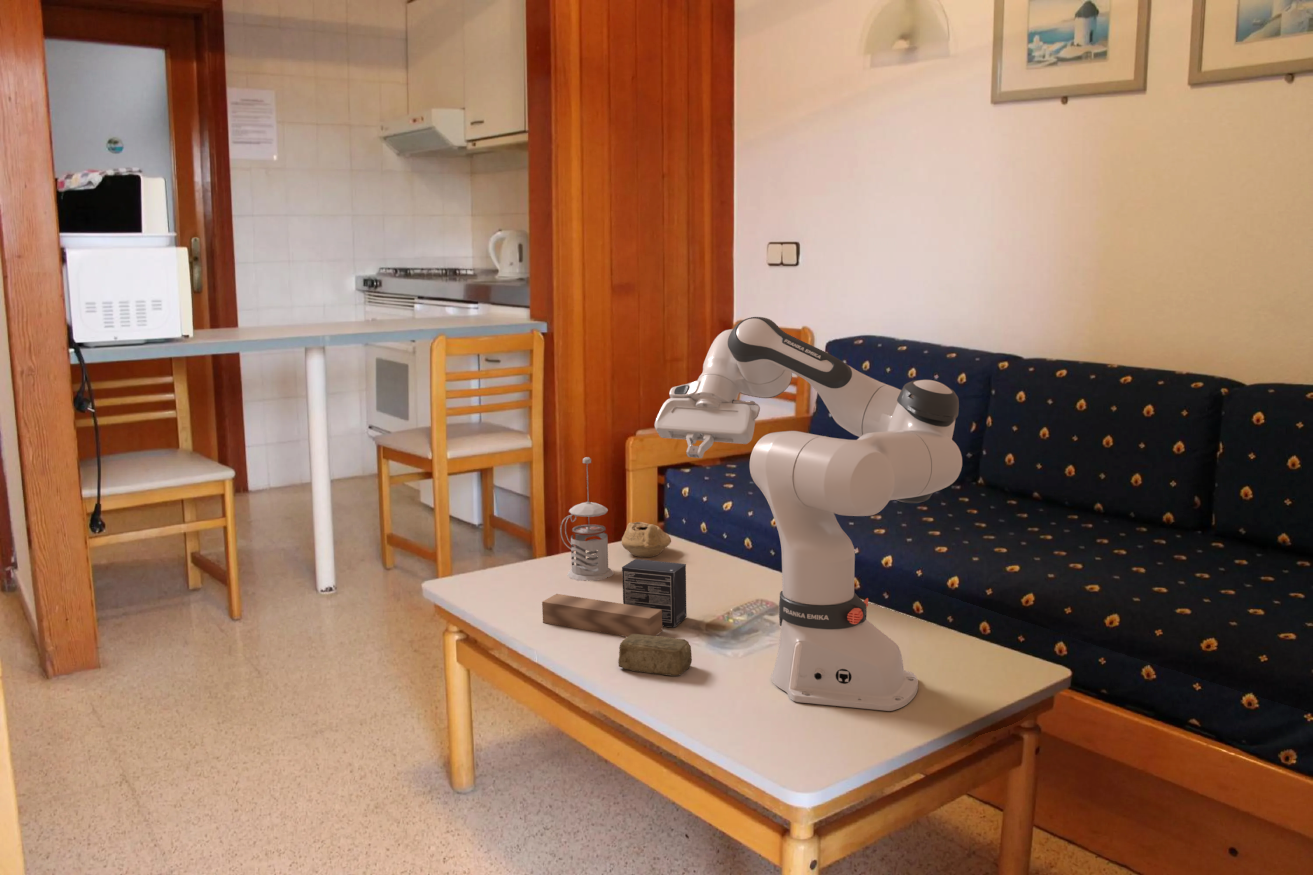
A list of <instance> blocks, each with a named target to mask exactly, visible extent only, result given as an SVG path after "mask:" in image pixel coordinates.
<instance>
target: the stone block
mask: <svg viewBox="0 0 1313 875" xmlns="http://www.w3.org/2000/svg"><path fill="white" fill-rule="evenodd" d="M618 648H619V651H618V661H617V662H618V667H619V668H622V669H624V670H626V671H632V672H638V673H639V672H641V673H647V674H654V675H655V674H656V675H664V676H681V675H683V673H685V672H686V671H687V670H688V669H689V668H690V667H691V665H692V662H693V659H692V655H693V654H692V645H691V644H690V643H689V641H688V640H686V639H685V638H675V637H670V636H669V637H668V636H659V635H656V636H651V635H640V634H631V635H629V636H628V637H625V638H624V639H623V640H622V641H621V642H620V643H619V647H618Z"/></svg>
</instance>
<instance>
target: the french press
mask: <svg viewBox="0 0 1313 875" xmlns="http://www.w3.org/2000/svg"><path fill="white" fill-rule="evenodd" d="M582 464H586V485H587V487H586V489H587V501H585V502H581V503H578V504H575V505H573V506H572V507H570V509H569V510H568V513H569V514H570V515H569V514H568V515H567V516H565V517H564V518H563V519H562V521H561V523H560V527H559V531H560V537H561V540H562V543H563V544H564V545H565V546H566V547H567V548H568V549H569V550H571V551H570V553H571V568H570V569H569V571H568V572H567V573H568V574H567V577H568V576H569V577H568V578H570V579H572V580H576V581H583V580H588V581H587V582H589V581H590V580H594V581H601V580H605V579H607V577H608V578H610V577H612V576H613V575H614V570H612V569H611V568H610V567H609V547H608V546H609V542H608V541H609V540H608V534H607V533H606V530H607V528H606V526H604V525H602V524H601V525H600V524H590V518H594V517H600V516H603V515H606V514H607V513H608V511H609V509H608V508H607V507H606V506H604V505H602V504H599V503H597V502H592V501H591V502H590V501H589V500H590V498H589V497H590V496H589V471H588V470H589V468H588V467H589V464H592V458H590V457H589V456H586V457H584V458H582ZM572 516H574V519H573V517H572ZM577 517H583V518H587V517H588V518H587V521H588V524H580V525H576V526H574V527H573V528H572V529H571V532H572V533H574V534H572V535H570V539H569V538H568V537H569V536H568V534H567V533H568V532H567V523H568V520H569V519H570V522H571V523H574V522H575V521H576V520H577ZM565 520H566V521H565ZM564 521H565V523H564ZM563 524H564V533H565V536H566V539H567V542H568V543H569V544H570V546H569V545H568V544H567V543H566V542H565V541H564V537H563V532H562V527H563ZM591 537H598V538H600V539H597V538H593V539H588V538H591ZM586 539H588V540H586ZM590 582H591V581H590Z"/></svg>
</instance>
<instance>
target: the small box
mask: <svg viewBox="0 0 1313 875" xmlns="http://www.w3.org/2000/svg"><path fill="white" fill-rule="evenodd" d="M686 568H687V564H686V563H681V562H672V561H671V562H670V561H660V560H659V561H658V560H649V559H638V558H635V559H632V561H629V562H628V563H627V564H625V565H623V566H621V572H622V604H627V605H634V606H641V607H647V608H654V609H660V610H662V627H667V628H677V626H678V625H679V624H680V623H682V622H683V621H684V620H686V618H687V617H688V616H687V613H688V612H687V569H686Z"/></svg>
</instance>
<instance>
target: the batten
mask: <svg viewBox="0 0 1313 875" xmlns="http://www.w3.org/2000/svg"><path fill="white" fill-rule="evenodd" d="M541 603H542V604H541V605H542V606H541V607H542V609H541V610H542V623H543V624H549V625H555V626H561V627H568V628H573V629H578V630H585V631H592V632H597V633H604V634H608V635H609V634H610V635H616V636H622V637H625V638H627V637H628V636H629V635H631V634H640V635H651V636H659V634H661V633H662V632H663V626H662V610H660V609H654V608H647V607H641V606H634V605H627V604H623V603H622V602H621V603H619V602H613V601H606V600H600V599H593V598H588V597H587V598H586V597H580V596H573V595H567V594H561V593H560V594H559V593H556V594H554V595H552V596H550V597H548V598H546V599H545V600H542V602H541Z"/></svg>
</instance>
